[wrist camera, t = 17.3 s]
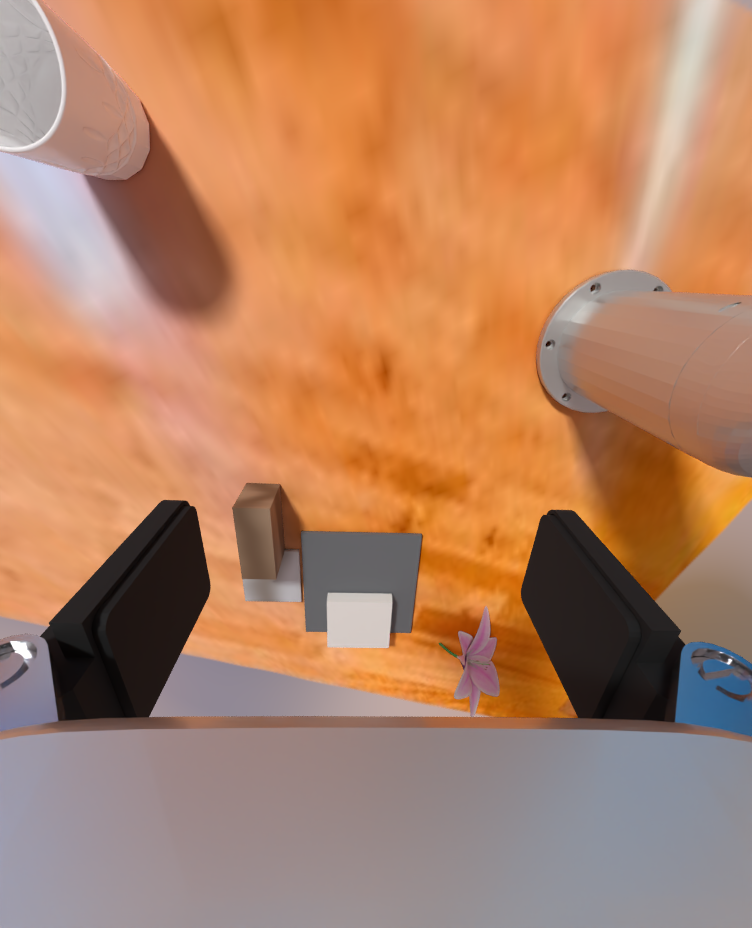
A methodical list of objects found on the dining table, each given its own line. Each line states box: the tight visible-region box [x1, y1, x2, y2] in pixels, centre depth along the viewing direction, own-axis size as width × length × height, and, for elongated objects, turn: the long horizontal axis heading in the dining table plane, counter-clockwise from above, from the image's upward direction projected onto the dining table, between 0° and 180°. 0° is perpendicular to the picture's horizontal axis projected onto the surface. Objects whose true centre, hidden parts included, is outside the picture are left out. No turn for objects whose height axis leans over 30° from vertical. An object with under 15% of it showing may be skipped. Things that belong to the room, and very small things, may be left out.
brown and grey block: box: [232, 483, 302, 602], centre depth 43 cm, size 7×17×5 cm, turn 177°
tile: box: [327, 593, 392, 648], centre depth 49 cm, size 8×2×8 cm
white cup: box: [0, 0, 150, 180], centre depth 24 cm, size 8×8×10 cm
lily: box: [439, 606, 499, 717], centre depth 49 cm, size 12×12×10 cm
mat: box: [301, 531, 422, 633], centre depth 48 cm, size 14×16×1 cm
